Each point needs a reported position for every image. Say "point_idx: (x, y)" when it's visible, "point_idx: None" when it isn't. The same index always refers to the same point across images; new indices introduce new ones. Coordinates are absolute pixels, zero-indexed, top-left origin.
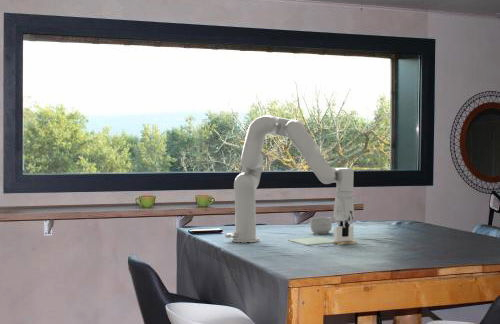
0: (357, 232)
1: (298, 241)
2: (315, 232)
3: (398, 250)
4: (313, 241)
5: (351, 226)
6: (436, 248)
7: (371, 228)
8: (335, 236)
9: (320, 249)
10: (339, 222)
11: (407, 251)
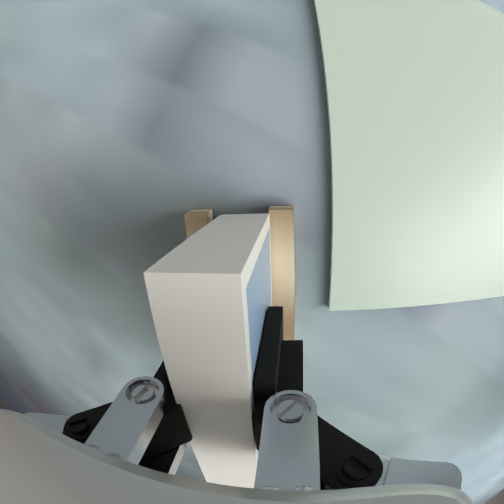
0: (473, 465)
1: (463, 8)
2: None
3: (12, 355)
4: (440, 90)
5: (204, 469)
6: None
7: (470, 490)
8: (235, 226)
9: (86, 6)
10: (267, 457)
11: (2, 359)
